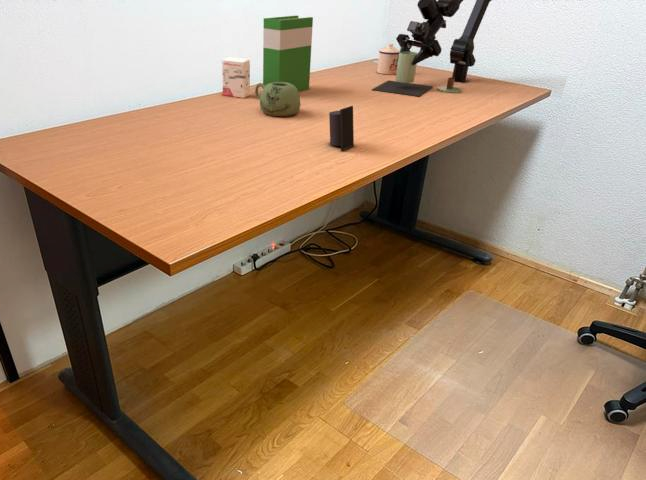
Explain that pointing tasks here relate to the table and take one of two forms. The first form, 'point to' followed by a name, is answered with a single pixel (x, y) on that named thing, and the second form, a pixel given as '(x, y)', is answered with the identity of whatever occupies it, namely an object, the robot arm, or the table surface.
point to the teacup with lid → (388, 60)
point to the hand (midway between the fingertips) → (404, 62)
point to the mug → (279, 99)
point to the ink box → (236, 77)
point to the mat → (403, 88)
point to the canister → (406, 67)
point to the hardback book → (287, 50)
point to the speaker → (342, 128)
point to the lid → (449, 87)
